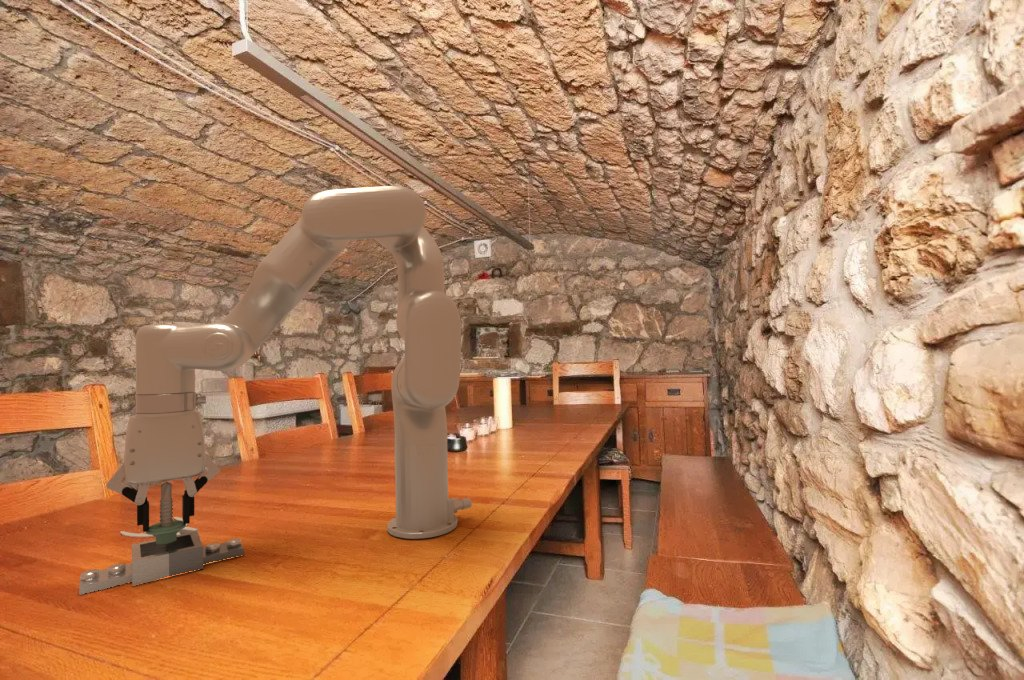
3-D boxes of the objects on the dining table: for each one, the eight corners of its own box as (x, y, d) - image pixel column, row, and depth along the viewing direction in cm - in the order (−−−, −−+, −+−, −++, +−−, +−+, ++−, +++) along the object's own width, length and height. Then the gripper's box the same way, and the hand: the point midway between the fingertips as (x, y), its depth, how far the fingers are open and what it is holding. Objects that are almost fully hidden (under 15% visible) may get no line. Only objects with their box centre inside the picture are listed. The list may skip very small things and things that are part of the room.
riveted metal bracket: (236, 543, 86) (236, 523, 86) (245, 559, 79) (245, 536, 79) (82, 578, 73) (82, 554, 73) (78, 600, 67) (78, 573, 67)
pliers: (176, 512, 101) (216, 523, 93) (177, 520, 101) (217, 532, 93) (118, 527, 92) (156, 541, 84) (118, 536, 92) (156, 551, 84)
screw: (138, 545, 75) (171, 534, 79) (160, 549, 73) (193, 537, 78) (138, 484, 75) (171, 476, 80) (160, 487, 73) (193, 479, 78)
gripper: (225, 399, 85) (225, 508, 84) (95, 407, 75) (95, 531, 74) (232, 402, 79) (233, 519, 78) (93, 411, 69) (92, 546, 68)
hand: (166, 524), depth 76 cm, fingers closed on screw, 4 cm apart
